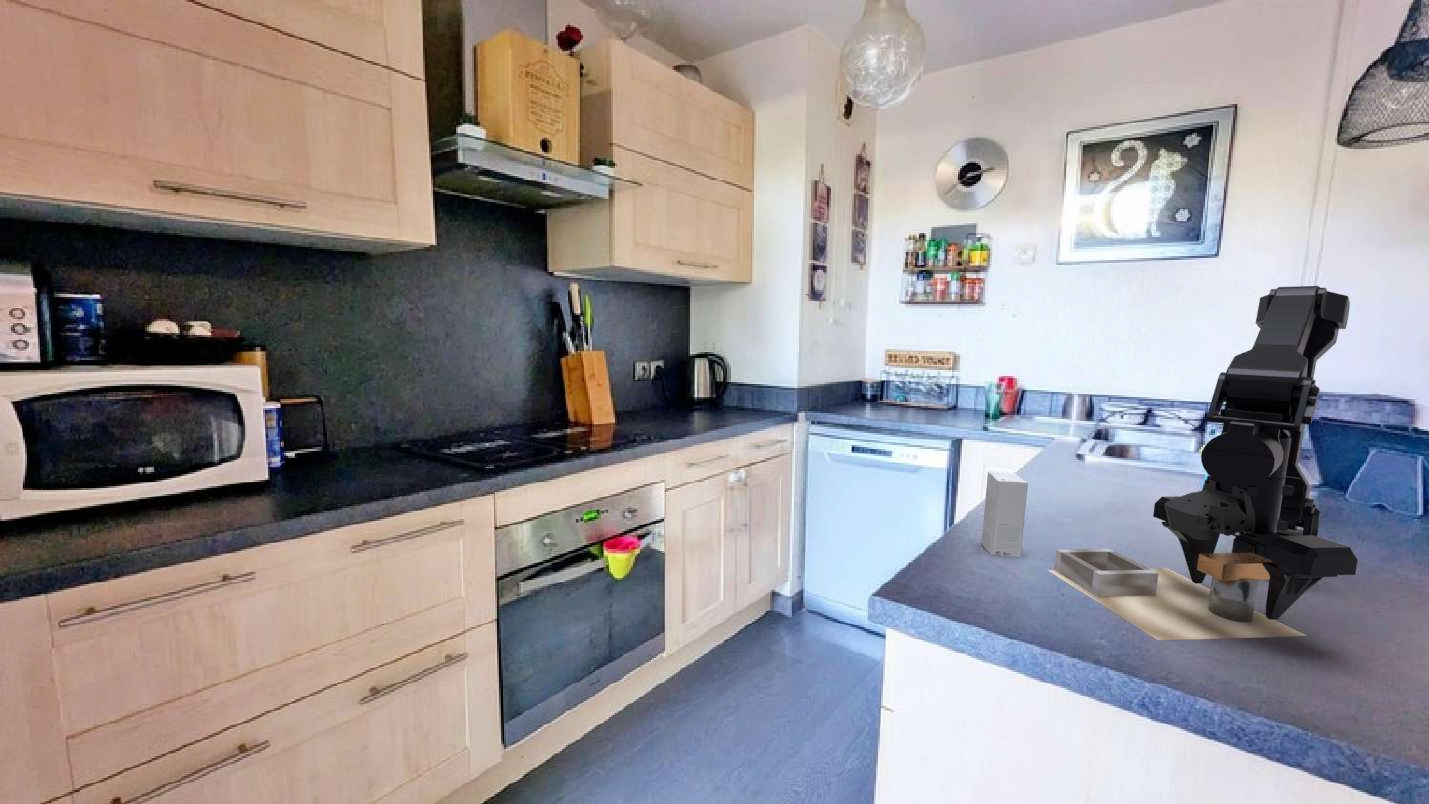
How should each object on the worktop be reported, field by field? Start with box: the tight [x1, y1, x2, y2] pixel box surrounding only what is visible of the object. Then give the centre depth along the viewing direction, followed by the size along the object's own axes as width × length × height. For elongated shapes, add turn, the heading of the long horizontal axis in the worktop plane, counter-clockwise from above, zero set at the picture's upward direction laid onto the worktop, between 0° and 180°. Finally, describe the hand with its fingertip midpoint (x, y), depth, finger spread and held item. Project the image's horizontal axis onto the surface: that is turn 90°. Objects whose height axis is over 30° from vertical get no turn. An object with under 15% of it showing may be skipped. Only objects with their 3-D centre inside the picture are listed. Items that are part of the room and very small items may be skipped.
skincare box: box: [981, 471, 1029, 558], centre depth 87 cm, size 6×4×12 cm
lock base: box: [1047, 548, 1307, 642], centre depth 71 cm, size 18×18×4 cm
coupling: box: [1197, 552, 1272, 623], centre depth 68 cm, size 7×4×7 cm, turn 95°
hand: (1231, 599), depth 68 cm, fingers open, 9 cm apart
